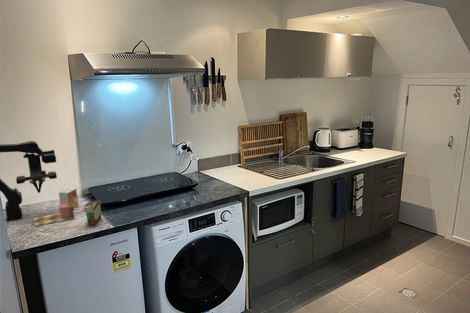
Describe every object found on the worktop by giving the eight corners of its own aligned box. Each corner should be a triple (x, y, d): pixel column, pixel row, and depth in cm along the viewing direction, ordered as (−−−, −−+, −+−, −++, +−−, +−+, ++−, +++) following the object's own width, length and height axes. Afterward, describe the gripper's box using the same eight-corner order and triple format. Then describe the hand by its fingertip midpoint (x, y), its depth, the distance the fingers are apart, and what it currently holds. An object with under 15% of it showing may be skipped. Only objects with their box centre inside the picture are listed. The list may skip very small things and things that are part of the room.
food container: (90, 218, 180) (88, 200, 178) (102, 218, 181) (100, 200, 178) (82, 228, 168) (79, 209, 166) (94, 227, 169) (92, 208, 166)
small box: (69, 210, 191) (67, 193, 189) (60, 210, 192) (58, 192, 190) (78, 205, 199) (76, 188, 197) (70, 205, 200) (68, 188, 198)
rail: (35, 227, 171) (33, 213, 169) (34, 221, 177) (32, 208, 176) (74, 218, 180) (72, 206, 178) (72, 214, 187) (70, 202, 185)
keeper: (61, 218, 177) (60, 208, 176) (60, 214, 182) (58, 204, 181) (69, 216, 179) (68, 206, 178) (68, 213, 185) (67, 203, 183)
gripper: (14, 170, 171) (19, 200, 174) (55, 165, 181) (59, 193, 184) (14, 166, 180) (19, 194, 184) (53, 161, 190) (57, 188, 193)
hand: (39, 192), depth 186 cm, fingers closed
